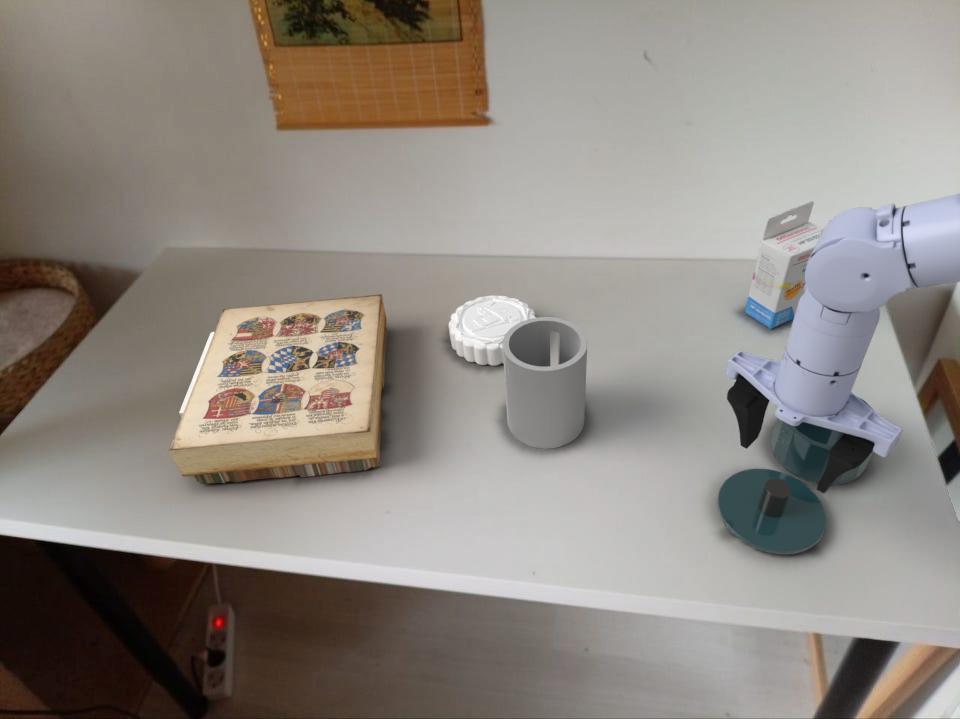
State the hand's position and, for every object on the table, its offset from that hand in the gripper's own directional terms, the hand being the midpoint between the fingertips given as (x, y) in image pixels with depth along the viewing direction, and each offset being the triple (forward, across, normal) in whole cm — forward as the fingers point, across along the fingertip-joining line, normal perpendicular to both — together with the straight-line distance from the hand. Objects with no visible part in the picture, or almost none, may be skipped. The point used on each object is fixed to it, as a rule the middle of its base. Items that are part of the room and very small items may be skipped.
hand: (785, 462), depth 64 cm
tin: (+8, -1, +11) cm, 14 cm away
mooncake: (+8, -41, +1) cm, 42 cm away
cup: (+8, -26, -6) cm, 27 cm away
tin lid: (+7, 0, 0) cm, 7 cm away
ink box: (+8, -16, +31) cm, 36 cm away
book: (+8, -52, -25) cm, 59 cm away
